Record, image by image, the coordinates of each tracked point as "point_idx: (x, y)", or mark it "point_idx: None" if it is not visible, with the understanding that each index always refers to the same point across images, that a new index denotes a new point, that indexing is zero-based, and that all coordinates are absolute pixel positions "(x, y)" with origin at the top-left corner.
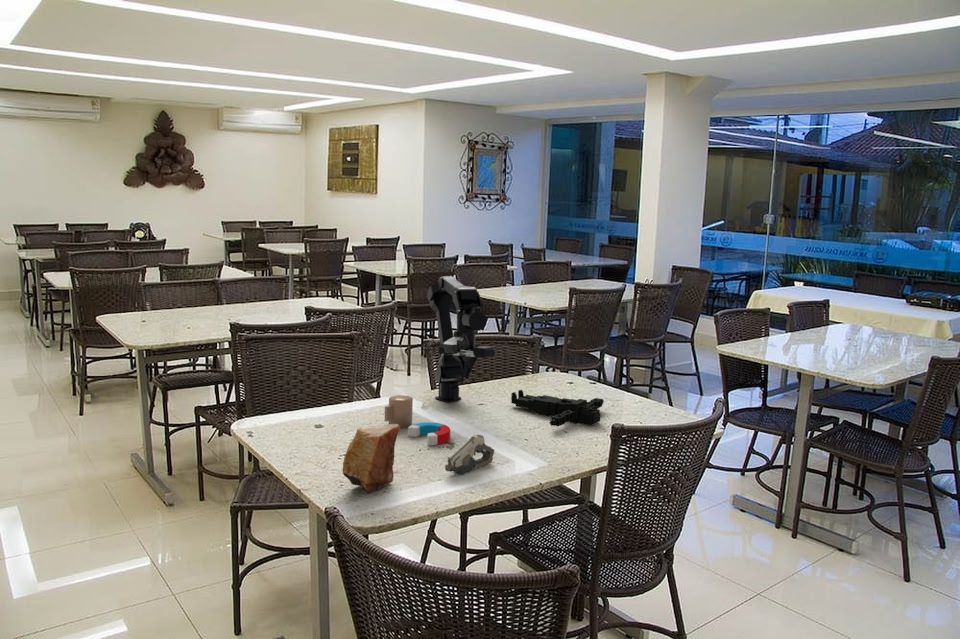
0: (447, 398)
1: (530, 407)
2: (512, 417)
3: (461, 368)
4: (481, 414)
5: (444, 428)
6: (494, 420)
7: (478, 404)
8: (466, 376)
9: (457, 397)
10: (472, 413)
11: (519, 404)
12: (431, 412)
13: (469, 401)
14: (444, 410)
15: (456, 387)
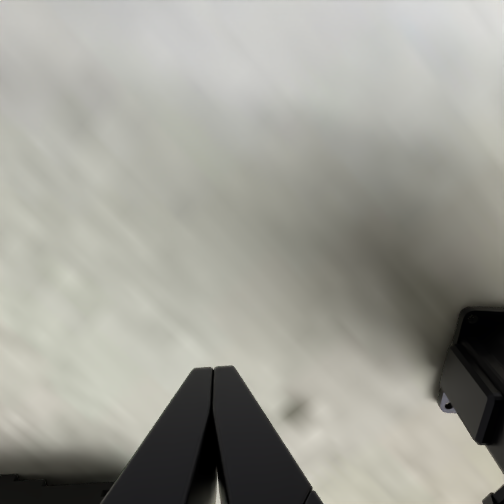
0: (493, 334)
1: (22, 495)
2: (17, 361)
3: (279, 467)
4: (164, 284)
5: None
6: (30, 255)
7: (303, 400)
8: (186, 384)
9: (445, 381)
10: (214, 261)
11: (91, 495)
12: (434, 70)
13: (377, 405)
14: (388, 177)
15: (486, 425)
